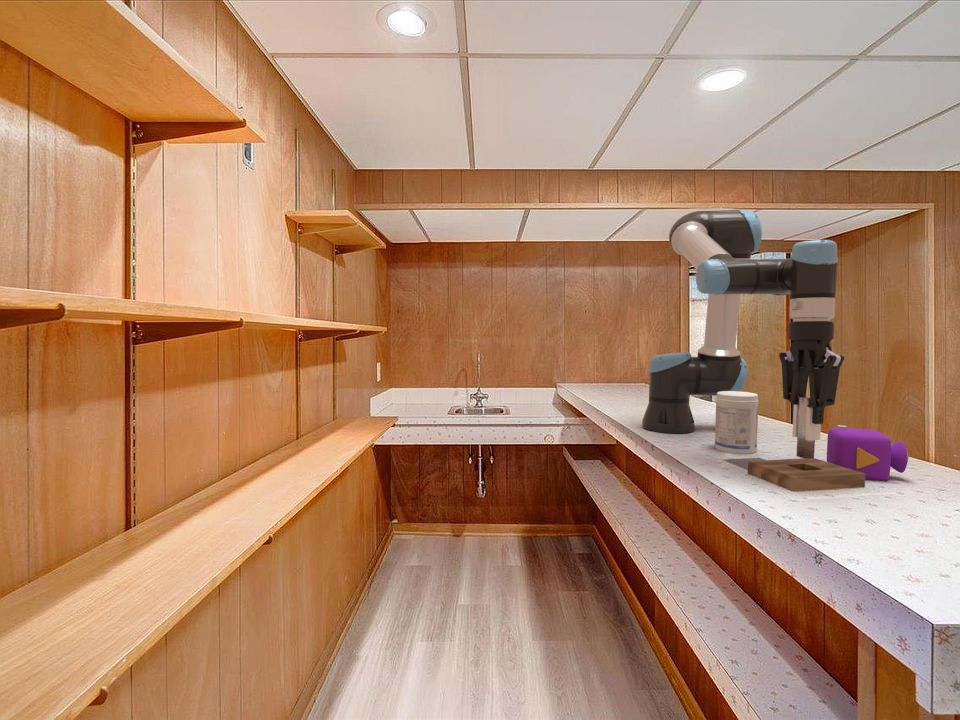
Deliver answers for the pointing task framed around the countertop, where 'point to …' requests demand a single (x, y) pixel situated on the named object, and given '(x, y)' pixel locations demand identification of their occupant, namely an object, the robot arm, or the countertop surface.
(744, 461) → the mat
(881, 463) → the toy camera
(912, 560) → the countertop surface
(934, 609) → the countertop surface
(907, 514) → the countertop surface
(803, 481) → the socket block
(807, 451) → the peg
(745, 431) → the supplement tub
